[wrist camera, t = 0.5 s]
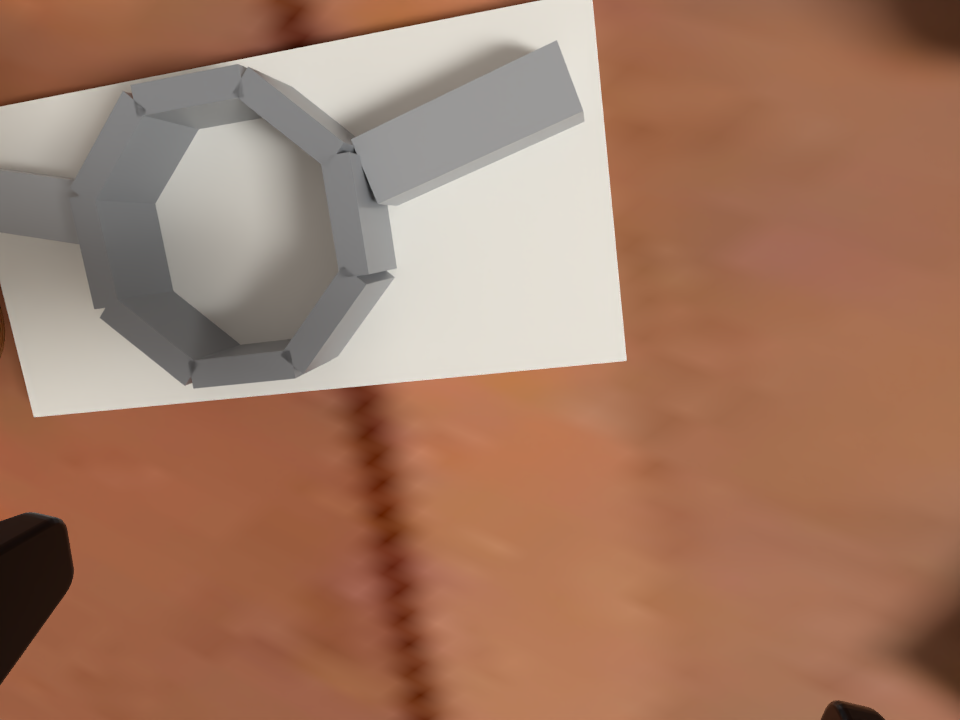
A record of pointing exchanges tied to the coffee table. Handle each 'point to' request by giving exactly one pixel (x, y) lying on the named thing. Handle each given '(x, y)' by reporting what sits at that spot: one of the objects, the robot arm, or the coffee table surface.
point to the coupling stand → (316, 218)
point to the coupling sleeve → (2, 332)
